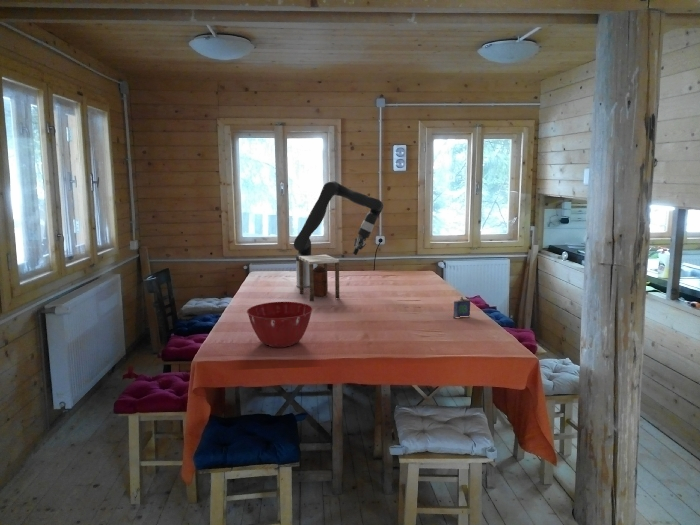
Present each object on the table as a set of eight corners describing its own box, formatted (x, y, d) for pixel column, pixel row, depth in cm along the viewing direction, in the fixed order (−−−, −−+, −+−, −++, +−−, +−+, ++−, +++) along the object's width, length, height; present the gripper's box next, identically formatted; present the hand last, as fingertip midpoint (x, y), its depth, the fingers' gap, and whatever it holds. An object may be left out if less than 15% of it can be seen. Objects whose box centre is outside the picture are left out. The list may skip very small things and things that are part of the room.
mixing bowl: (313, 352, 229) (312, 316, 227) (244, 354, 227) (243, 318, 224) (312, 333, 257) (312, 300, 254) (251, 334, 255) (250, 302, 252)
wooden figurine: (330, 295, 338) (330, 266, 335) (325, 297, 332) (324, 268, 329) (314, 293, 343) (313, 265, 340) (308, 295, 338) (308, 266, 335)
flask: (455, 318, 280) (455, 298, 278) (452, 317, 282) (452, 297, 281) (470, 317, 283) (471, 297, 281) (467, 316, 285) (468, 295, 284)
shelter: (299, 293, 344) (298, 256, 341) (327, 290, 351) (326, 254, 347) (310, 301, 322) (309, 261, 318) (340, 298, 328) (339, 259, 324)
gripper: (357, 225, 348) (345, 249, 350) (365, 229, 336) (353, 254, 338) (366, 229, 351) (355, 253, 353) (375, 233, 340) (363, 259, 341)
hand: (354, 254), depth 345 cm, fingers closed
